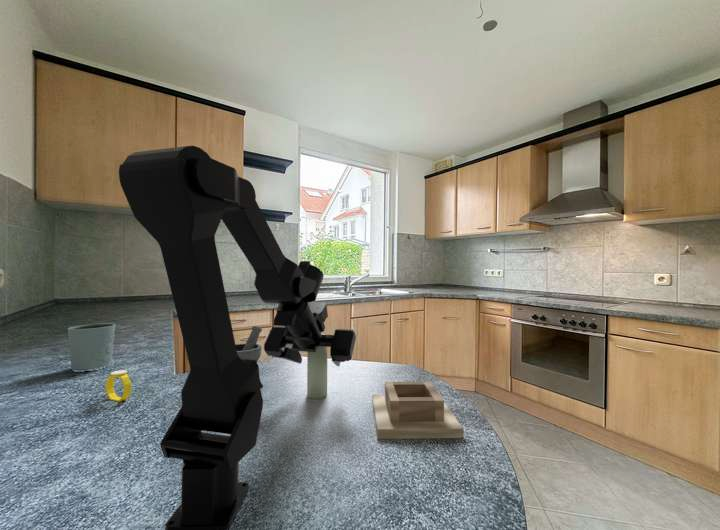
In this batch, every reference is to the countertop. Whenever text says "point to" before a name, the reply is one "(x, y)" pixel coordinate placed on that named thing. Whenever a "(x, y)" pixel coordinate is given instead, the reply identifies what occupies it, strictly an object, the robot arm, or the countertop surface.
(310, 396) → the post
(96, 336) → the grey plant pot
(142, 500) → the countertop surface
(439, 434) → the socket base
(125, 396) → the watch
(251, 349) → the mortar and pestle
